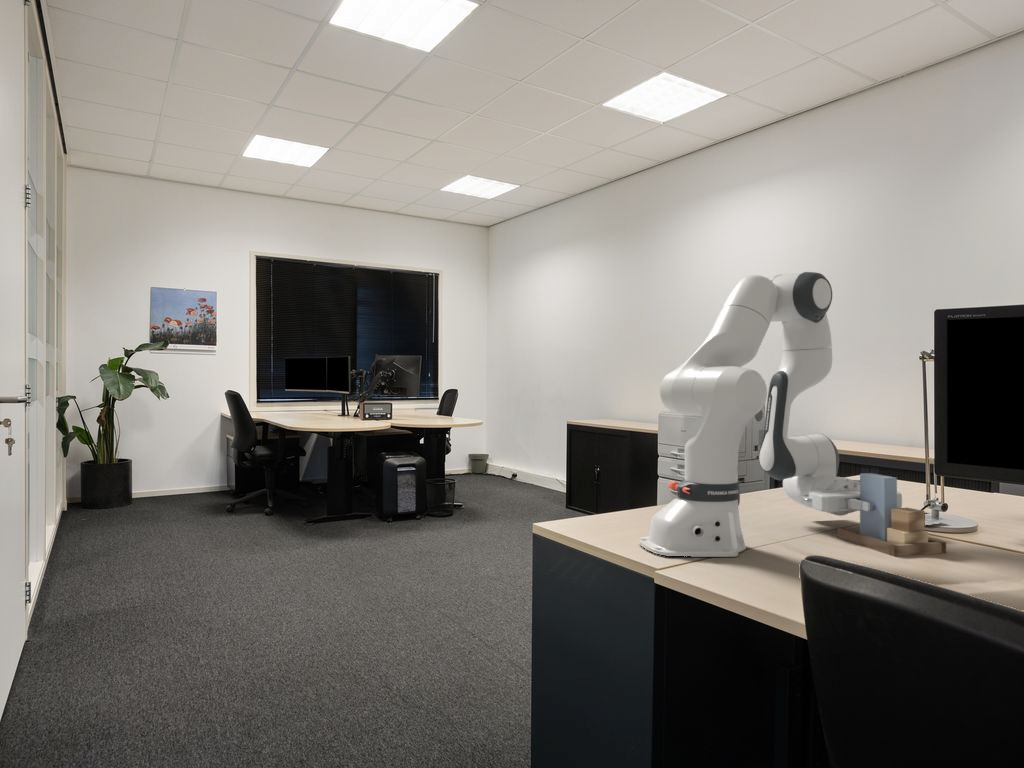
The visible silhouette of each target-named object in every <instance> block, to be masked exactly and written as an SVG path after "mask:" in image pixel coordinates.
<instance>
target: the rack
mask: <svg viewBox="0 0 1024 768" xmlns="http://www.w3.org/2000/svg"><path fill="white" fill-rule="evenodd" d="M836 531H837V532H836V533H837V534H836V536H837V539H838V538H839V539H842V540H845V541H848V542H851V543H853V544H856V545H858V546H859V545H860V546H862V547H865V548H868V549H871V550H874V551H877V552H880V553H883V554H885V555H888V556H892V557H907V556H908V557H909V556H920V555H921V556H922V555H923V556H924V555H938V554H939V555H940V554H947V543H946V542H945V541H940V540H937V539H935V538H930V537H928V542H927V543H911V544H891V543H888V542H885V541H882V540H879V539H875V538H872V537H869V536H866V535H863V534H860V532H856V531H854V530H851V529H846V528H843V527H837V530H836Z"/></svg>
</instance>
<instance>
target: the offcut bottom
mask: <svg viewBox="0 0 1024 768" xmlns="http://www.w3.org/2000/svg"><path fill="white" fill-rule="evenodd" d="M928 538H929V531H927V530H925V531H918V532H910V533H908V532H904V531H899V530H895V529H891V528H887V542H888V543H891V544H911V543H927V542H928Z"/></svg>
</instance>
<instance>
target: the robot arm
mask: <svg viewBox="0 0 1024 768" xmlns="http://www.w3.org/2000/svg"><path fill="white" fill-rule="evenodd" d="M832 301H833V289H832V285H831V283H830V281H829V280H828V279H827V277H826V276H824V274H822V273H820V272H816V271H815V272H814V271H812V272H811V271H804V272H801V273H788V274H782V273H781V274H777V275H771V276H766V277H765V276H763V275H759V274H749V275H746V276H745V277H743V278H741V279H739V281H738V282H737V284H736V285H735V286H734V287H733V288H732V290H731V291H730V293H729V294H728V296H727V297H726V299H725V301H724V303H723V305H722V307H721V308H720V311H719V313H718V314H717V317H716V319H715V321H714V323H713V325H712V327H711V328H710V331H709V332H708V335H707V336H706V338H705V339H704V341H702V343H701V344H700V345H699V346H698V348H697V349H695V351H694V352H693V353H692V354H691V356H689V357H688V358H687V359H686V360H685V361H684V362H683V363H682V364H681V365H679V366H678V367H677V368H675V369H673V370H671V371H670V372H668V373H667V374H666V375H665V376H664V377H663V379H662V381H661V384H660V390H659V394H660V399H661V402H662V404H663V405H664V407H665V408H666V409H667V410H669V411H671V412H673V413H677V414H680V415H683V416H687V417H688V416H689V417H701V418H702V419H701V423H700V426H699V428H698V431H697V433H696V434H695V435H694V436H692V437H691V438H689V439H688V440H687V442H686V443H685V445H684V479H683V480H681V482H680V483H679V482H677V481H674V480H671V481H669V483H668V486H667V487H668V489H669V490H670V491H673V492H676V497H675V498H674V499H672V501H670V502H669V503H667V504H666V505H665V506H664V507H663V508H661V509H660V510H658V511H657V512H656V513H655V514H653V516H652V517H651V522H650V524H649V525H650V526H649V533H648V535H647V536H646V535H645V536H641V537H640V538H639V539H638V543H639V542H640V544H641V545H643V546H644V547H646V548H647V549H649V550H651V551H653V552H656V553H658V554H662V555H666V556H684V557H683V558H685V556H686V557H687V556H691V557H690V558H692V557H693V558H699V557H700V558H701V557H702V558H703V557H704V558H706V557H710V558H711V557H712V558H715V557H719V558H723V557H724V558H725V557H726V558H727V557H728V558H729V557H731V558H732V557H738V555H739V553H741V552H743V551H745V550H746V548H747V545H746V542H745V539H744V536H743V531H742V526H741V519H740V510H739V508H740V507H739V506H740V500H741V488H740V487H741V486H740V481H738V479H739V478H738V474H739V472H738V471H739V469H738V468H739V467H738V466H739V462H738V461H739V448H740V443H741V439H742V436H743V434H744V432H745V429H746V427H747V426H748V424H749V422H750V421H751V420H752V418H754V417H755V416H756V415H757V414H758V413H760V412H761V410H762V409H763V408H764V406H765V403H766V410H765V419H764V427H763V436H762V439H761V442H760V443H761V444H760V446H759V447H760V448H759V451H758V463H759V465H760V469H761V470H762V471H763V472H764V473H765V474H766V475H767V476H768V477H771V478H772V479H774V480H777V481H782V488H783V491H784V493H785V494H786V496H788V498H790V500H792V501H794V502H795V503H797V504H799V505H802V506H805V507H808V508H811V509H814V510H816V511H819V512H825V513H826V514H827V513H828V514H831V515H835V516H840V517H841V516H845V515H848V514H851V513H854V512H860V510H864V511H873V510H874V503H872V502H868V501H860V479H859V480H857V479H851V478H846V477H843V476H841V477H840V476H837V475H838V471H839V466H840V454H839V450H838V448H837V446H836V445H835V443H834V442H833V440H831V439H830V438H829V437H828V436H826V435H824V434H823V433H816V434H815V433H814V434H805V435H799V436H789V437H788V434H789V423H790V414H791V408H792V405H793V402H794V401H795V399H796V398H797V397H798V396H799V395H801V394H802V393H804V392H805V391H806V390H808V389H811V388H812V387H815V386H816V385H818V384H819V383H821V382H822V381H824V380H825V379H826V377H827V376H828V375H829V373H830V372H831V369H832V365H833V344H832V342H833V341H832V334H831V333H832V332H831V329H830V327H831V326H830V324H829V319H828V314H827V313H828V311H829V309H830V306H831V304H832ZM771 322H781V324H782V336H781V337H782V338H781V349H782V350H781V351H782V352H781V353H782V356H781V361H780V364H779V368H778V370H777V372H776V373H774V374H773V375H772V377H771V379H770V382H769V387H768V389H767V384H766V382H765V379H764V378H763V376H762V375H761V374H760V373H759V372H758V371H757V370H754V369H750V368H747V367H746V368H745V367H744V366H746V365H747V364H749V363H750V362H751V361H753V360H754V359H755V357H756V356H757V354H758V352H759V349H760V348H761V344H762V343H763V341H764V338H765V337H766V333H767V332H768V329H769V327H770V326H771V325H770V324H771ZM902 495H903V494H902V493H901V492H900V491H898V490H897V508H903V507H902V506H903V496H902ZM687 558H688V557H687Z"/></svg>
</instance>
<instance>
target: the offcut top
mask: <svg viewBox="0 0 1024 768" xmlns="http://www.w3.org/2000/svg"><path fill="white" fill-rule="evenodd" d="M925 513H926V512H925V510H922V509H917V508H911V507H901V508H897V509H891V529H895V530H899V531H904V532H908V533H910V532H918V531H926V530H925V529H926V528H925V527H926V526H925Z"/></svg>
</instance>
